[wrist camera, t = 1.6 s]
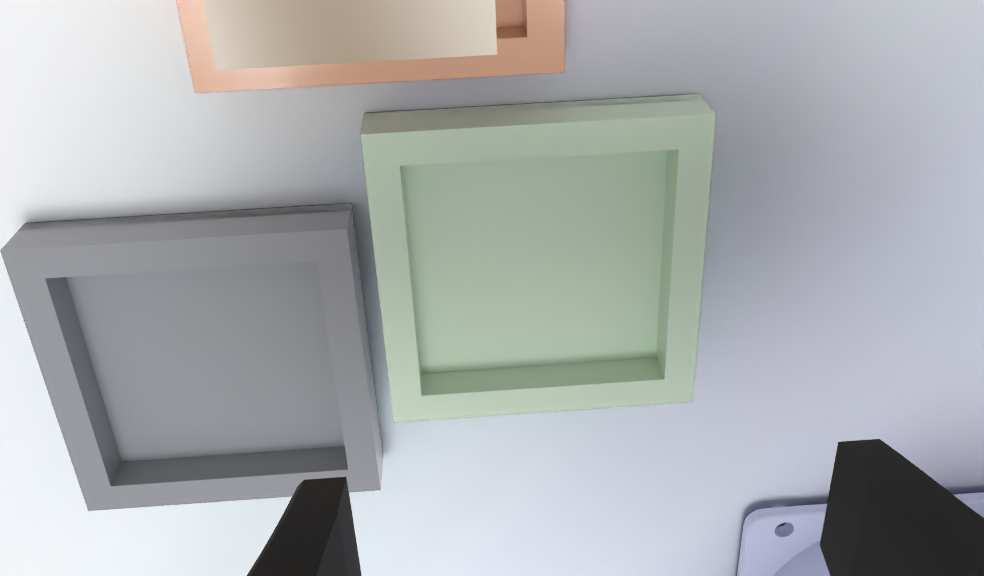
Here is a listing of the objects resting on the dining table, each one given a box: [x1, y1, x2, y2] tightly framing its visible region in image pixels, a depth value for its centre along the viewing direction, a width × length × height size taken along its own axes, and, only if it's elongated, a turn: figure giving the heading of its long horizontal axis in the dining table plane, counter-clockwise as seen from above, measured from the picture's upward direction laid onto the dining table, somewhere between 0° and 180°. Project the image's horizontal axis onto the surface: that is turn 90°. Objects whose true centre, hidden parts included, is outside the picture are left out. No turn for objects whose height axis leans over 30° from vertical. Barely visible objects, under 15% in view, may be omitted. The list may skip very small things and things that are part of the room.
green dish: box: [360, 94, 716, 422], centre depth 20 cm, size 7×7×1 cm
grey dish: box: [0, 203, 383, 511], centre depth 21 cm, size 7×7×1 cm
